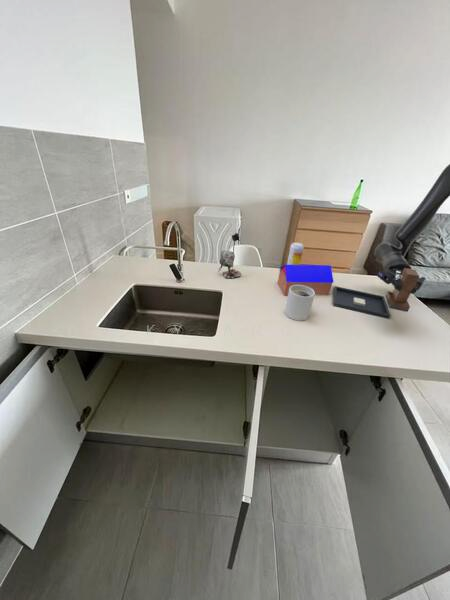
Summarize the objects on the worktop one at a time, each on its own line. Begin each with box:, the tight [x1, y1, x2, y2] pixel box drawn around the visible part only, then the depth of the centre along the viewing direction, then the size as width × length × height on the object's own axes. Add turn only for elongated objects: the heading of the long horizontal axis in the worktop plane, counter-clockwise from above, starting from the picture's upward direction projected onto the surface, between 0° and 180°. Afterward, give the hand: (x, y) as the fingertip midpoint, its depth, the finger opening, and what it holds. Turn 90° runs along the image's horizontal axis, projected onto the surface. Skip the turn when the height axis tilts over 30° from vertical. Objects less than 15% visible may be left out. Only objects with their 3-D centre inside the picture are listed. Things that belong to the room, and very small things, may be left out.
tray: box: [332, 286, 391, 320], centre depth 99 cm, size 20×16×2 cm
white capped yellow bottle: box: [286, 242, 305, 265], centre depth 118 cm, size 6×6×15 cm
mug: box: [284, 285, 315, 321], centre depth 89 cm, size 11×10×10 cm
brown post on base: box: [384, 268, 420, 313], centre depth 76 cm, size 5×8×12 cm, turn 158°
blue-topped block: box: [277, 264, 335, 297], centre depth 105 cm, size 12×20×12 cm, turn 94°
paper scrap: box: [353, 297, 365, 306], centre depth 99 cm, size 4×4×1 cm
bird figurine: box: [217, 232, 242, 279], centre depth 111 cm, size 8×11×20 cm
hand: (407, 289), depth 73 cm, fingers closed on brown post on base, 3 cm apart
